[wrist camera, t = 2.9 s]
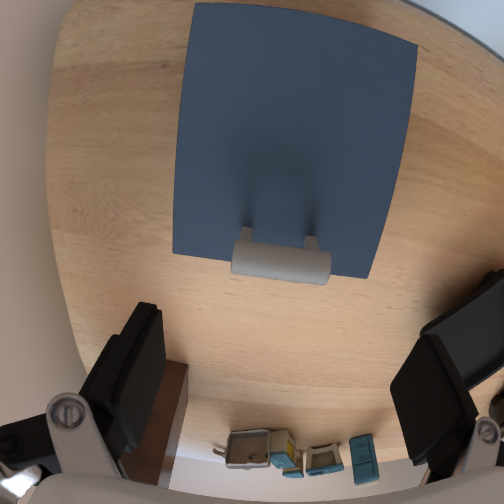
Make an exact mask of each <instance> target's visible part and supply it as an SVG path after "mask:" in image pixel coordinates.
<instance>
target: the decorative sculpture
mask: <svg viewBox="0 0 504 504" xmlns="http://www.w3.org/2000/svg"><path fill="white" fill-rule="evenodd" d="M268 433H269V453H268V459H267V458H266V457H265V454H266V445H267V436H268ZM270 446H271V432H270V431H269V430H265V429H257V430H249V431H242V432H241V431H239V432H231V433H230V434H229V437H228V439H227V448H226V451H225V452H220V451H218V450H216V449H215V448H213V452H214V453H215V454H217V455H221V456H223V457H224V458H225V459H226V461H225V464H226V466H227V468H230V469H245V470H249V469H251V468H264V467H265V468H266V467H270V462H271V458H270Z"/></svg>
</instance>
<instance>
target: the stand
mask: <svg viewBox="0 0 504 504" xmlns="http://www.w3.org/2000/svg"><path fill="white" fill-rule="evenodd" d="M187 404H188V365H187V364H182V363H177V362H173V361H168V360H166V370H165V373H164V376H163V379H162V382H161V385H160V387H159V390H158V393H157V396H156V399H155V402H154V405H153V408H152V411H151V414H150V417H149V420H148V423H147V426H146V429H145V432H144V435H143V438H142V441H141V444H140V446H139V447H138V448H137V447H134V450H133V453H129V452H126V451H124V453H123V456H122V459H119V460H120V462H121V464H122V466H123V468H124V470H125V472H126V474H127V476H128V478H129V480H131V481H135V482H139V483H143V484H148V485H152V486H156V487H161V488H165V489H168V488H169V483H170V478H171V473H172V469H173V465H174V460H175V456H176V451H177V447H178V442H179V438H180V433H181V429H182V425H183V421H184V416H185V412H186V408H187Z"/></svg>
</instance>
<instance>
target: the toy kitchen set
mask: <svg viewBox="0 0 504 504" xmlns="http://www.w3.org/2000/svg"><path fill="white" fill-rule="evenodd" d="M349 445H350V451H351V459H352V467H353V475H354V483H355V486H356V488H361V487H366V486H370V485H374V484H377V483H379V471H378V465H377V459H376V453H375V448H374V443H373V438H372V435H371V434H368V435H365V436H361V437H357V438H353V439H350V440H349ZM268 453H269V433H268V436H267V445H266V454H265V457H266V458H267V459H268ZM270 458H271V463H272V464H273V465H274V466H275V467H276V468H278V469H280V468H283V473H282V475H283V476H285V477H288V478H303V477H304V475H303V455H302V453H301V452H300V450H296V445H295V440H294V439H293V440H292V438H291V437H290V435H289V433H288V430H287V429H284V430H278V431H271V446H270ZM342 470H344V465H343V463H342V460H341V457H340V454H339V450H338V446H337V443H332V445H331V446H328V447H323V448H318V449H312V447H309V448H308V449H307V458H306V473H307V474H308V475H309V476H316V475H322V474H327V473H334V472H338V471H342Z"/></svg>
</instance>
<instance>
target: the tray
mask: <svg viewBox="0 0 504 504" xmlns="http://www.w3.org/2000/svg"><path fill="white" fill-rule="evenodd" d="M424 334H437V335H438V336H439V337H440V339H441V340H442V342H443V344H444V346H445V347H446V349H447V351H448V353H449V355H450V356H451V358H452V360H453V362H454V364H455V366H456V368H457V370H458V371H459V373H460V375H461V377H462V379H463V381H464V383H465V385H466V387H467V389H468V391H469V390H471V389H472V388H474V387H475V386H477V385H478V384H480V383H481V382H483V381H484V380H486V379H487V378H489V377H490V376H492V375H493V374H494V373H496V372H497V371H498V370H500V369H501V368H502V367H504V269H500V270H498V271H497V272H495V271H490V272H489V273H488V274H487V275H486V276H485V277H484V279H483V280H482V282H481V284H480V285H479V287H478V288H477V290H476V291H475V293H473V294H472V295H471V296H469V297H468V298H466V299H465V300H463V301H462V302H460V303H459V304H458V305H456V306H455V307H453V308H452V309H450V310H449V311H447V312H445V313H444V314H442V315H441V316H439V317H438V318H436V319H434V320H433V321H431V322H430V323H428V324H427V325H425V326H424V327H423V328H422V330H421V331H420V338H421V337H422V335H424Z"/></svg>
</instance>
